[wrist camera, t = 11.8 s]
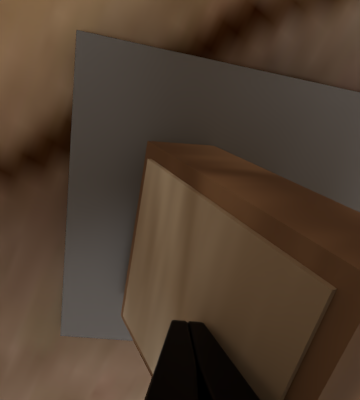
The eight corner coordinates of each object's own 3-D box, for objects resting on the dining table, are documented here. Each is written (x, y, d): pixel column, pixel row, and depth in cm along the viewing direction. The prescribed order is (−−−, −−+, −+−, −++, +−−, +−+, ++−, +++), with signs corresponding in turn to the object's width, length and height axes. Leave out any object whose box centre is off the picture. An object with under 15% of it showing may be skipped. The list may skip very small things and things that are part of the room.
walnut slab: (117, 316, 13) (233, 550, 7) (143, 140, 10) (376, 284, 4) (176, 300, 15) (310, 478, 9) (214, 145, 12) (451, 254, 6)
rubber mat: (63, 326, 16) (60, 335, 15) (80, 32, 11) (76, 30, 10) (334, 346, 18) (339, 355, 18) (455, 114, 13) (468, 116, 12)
